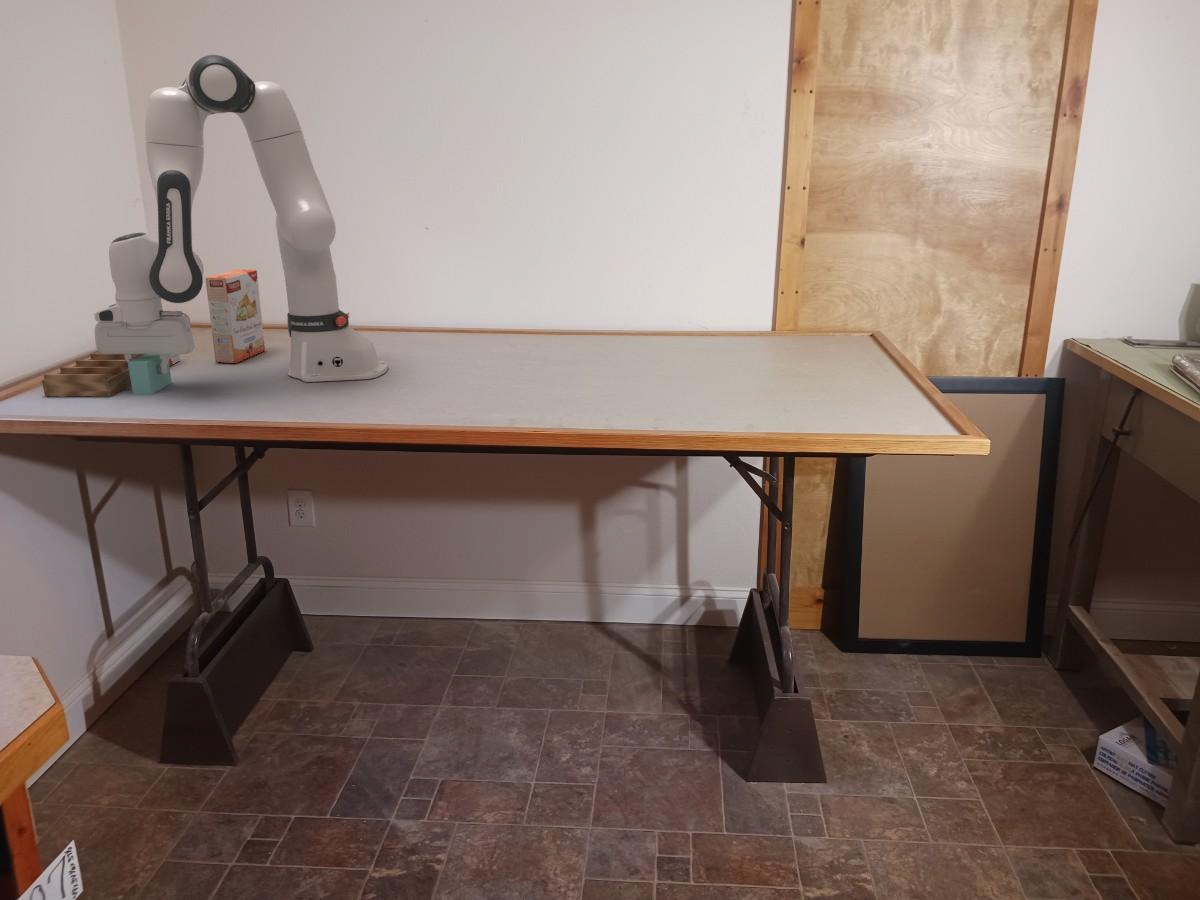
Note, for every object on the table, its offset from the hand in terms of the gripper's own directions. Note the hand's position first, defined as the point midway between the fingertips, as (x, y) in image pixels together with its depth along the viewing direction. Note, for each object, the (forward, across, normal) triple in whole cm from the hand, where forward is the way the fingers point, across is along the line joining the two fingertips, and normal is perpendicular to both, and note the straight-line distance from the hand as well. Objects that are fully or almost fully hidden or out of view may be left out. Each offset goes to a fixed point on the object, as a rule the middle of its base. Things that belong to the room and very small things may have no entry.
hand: (150, 373), depth 213 cm
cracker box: (+4, -9, -29) cm, 31 cm away
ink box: (+4, +7, -21) cm, 22 cm away
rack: (+3, +13, -3) cm, 14 cm away
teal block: (+3, 0, 0) cm, 3 cm away
